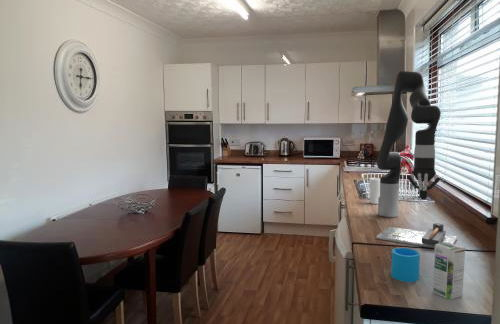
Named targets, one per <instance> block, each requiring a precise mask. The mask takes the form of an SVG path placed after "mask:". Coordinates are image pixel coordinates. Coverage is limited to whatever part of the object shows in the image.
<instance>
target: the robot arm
mask: <svg viewBox="0 0 500 324" xmlns="http://www.w3.org/2000/svg"><path fill="white" fill-rule="evenodd" d="M425 86H426V85H425V81H424V77H423V74H422V73H420V72H416V71H406V70H402V71H399V72H398V73H397V75H396V78H395V83H394V88H393V96H392V102H391V106H390V109H389V114H388V117H387V121H386V122H387V123H386V124H385V125H386V126H385V131H384V136H383V139H382V143H381V145H380V149H379V152H378V155H377V159H376V166H377V169H379V170H381V171H389V172H388V173H386V174H385V175H382V176H381V177H380V197H379V198H378V204H377V209H378V210H377V216H380V217H384V218H396V217H399V198H400V197H399V196H400V195H399V194H400V193H399V190H400V178H401V169H402V156H401V154H400V153H399V152H398V151H391V150H392V148H393V146H394V145H395V144H396V143H397V142H398V141H399V140H400V139H401V138H402V137H403V136H404V134H405V132H406V130H407V127H408V122H409V115H408V113H407V110H406V108H405V105H404V103H403V100H402V95H403V92H404V93H410V96H409V99H408V100H409V104H410V106H411V113H410V118H411V119H410V120H411V121H412V122H413V123H415V124H417V125H418V124H419V125H420V124H422V125H424V124H425V125H426V124H428V125H427V127H426V128H423V129H419V130H417V131H415V136H414V138H415V140H414V144H415V145H414V150H413V170H412V173H411V174H409V175H407V176H406V178H407V180H408V181H409V182H410V183H411V185H412V187H414V188H415V189H417V190H419V191H418V192H419V194H418V195H419V197H418V198H420V200H423V201H424V200H426V199H428V197H429V196H428V195H429V190H432V189H433V188H435V187H436V185H438V184H439V182H440V181H441V180H442V177H441V176H439V175H438V174H437V171H436V170H435V167H436V166H435V165H436V146H435V143H436V142H435V141H436V139H435V138H436V137H435V136H436V131H437V127H438V125H439V121H440V118H441V113H442V112H441V109H440V107H439V106H438V105H431V101H430V99H429V97H428V95H427V93H426V87H425ZM416 180H417V181H416ZM432 180H433V181H432ZM431 181H432V183H431V184H430V182H431ZM417 182H418V183H417ZM429 184H430V185H429Z"/></svg>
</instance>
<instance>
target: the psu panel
mask: <svg viewBox="0 0 500 324" xmlns="http://www.w3.org/2000/svg"><path fill="white" fill-rule="evenodd" d="M427 232H428V231H422V230H416V229H409V228H401V227H396V226H395V227H394V226H387V227H386V228H385V229H383V230H382V231H381V232H380V233H378V234H377V235H376V236H375V237H376V238H375V239H377V240H383V241H389V242H395V243H402V244H407V245H414V246H418V247H419V246H420V247H425V248H430V249H435V245H430V244H424V243H422V237H423V236H424V235H425V234H426V233H427ZM457 240H458V235H457V236H455V235H449V234H445V237H444V238H443V240H442V241H441V243H442V242H449V243H452V244H455V243H456V242H457Z"/></svg>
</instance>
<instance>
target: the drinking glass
mask: <svg viewBox="0 0 500 324" xmlns="http://www.w3.org/2000/svg"><path fill="white" fill-rule="evenodd" d="M380 178H381V177H380ZM380 178H379V177H370V178H369V182H368V184H369V185H368V186H369V199H370V201H369V203H370V204H372V205H378V198H379V197H380Z"/></svg>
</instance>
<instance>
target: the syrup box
mask: <svg viewBox="0 0 500 324" xmlns="http://www.w3.org/2000/svg"><path fill="white" fill-rule="evenodd" d="M465 254H466V247H465V246H460V245H457V244H455V243H454V244H452V243H449V242H442V243H438V244H435V248H434V259H433V277H432V279H433V280H432V282H433V283H432V294H436V295H438V296H441V297H442V298H444V299H446V300H449V301H451V300H454V299H457V298H460V297H462V296H463V293H464V291H463V289H464V278H465V277H464V272H465V257H466V255H465Z"/></svg>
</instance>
